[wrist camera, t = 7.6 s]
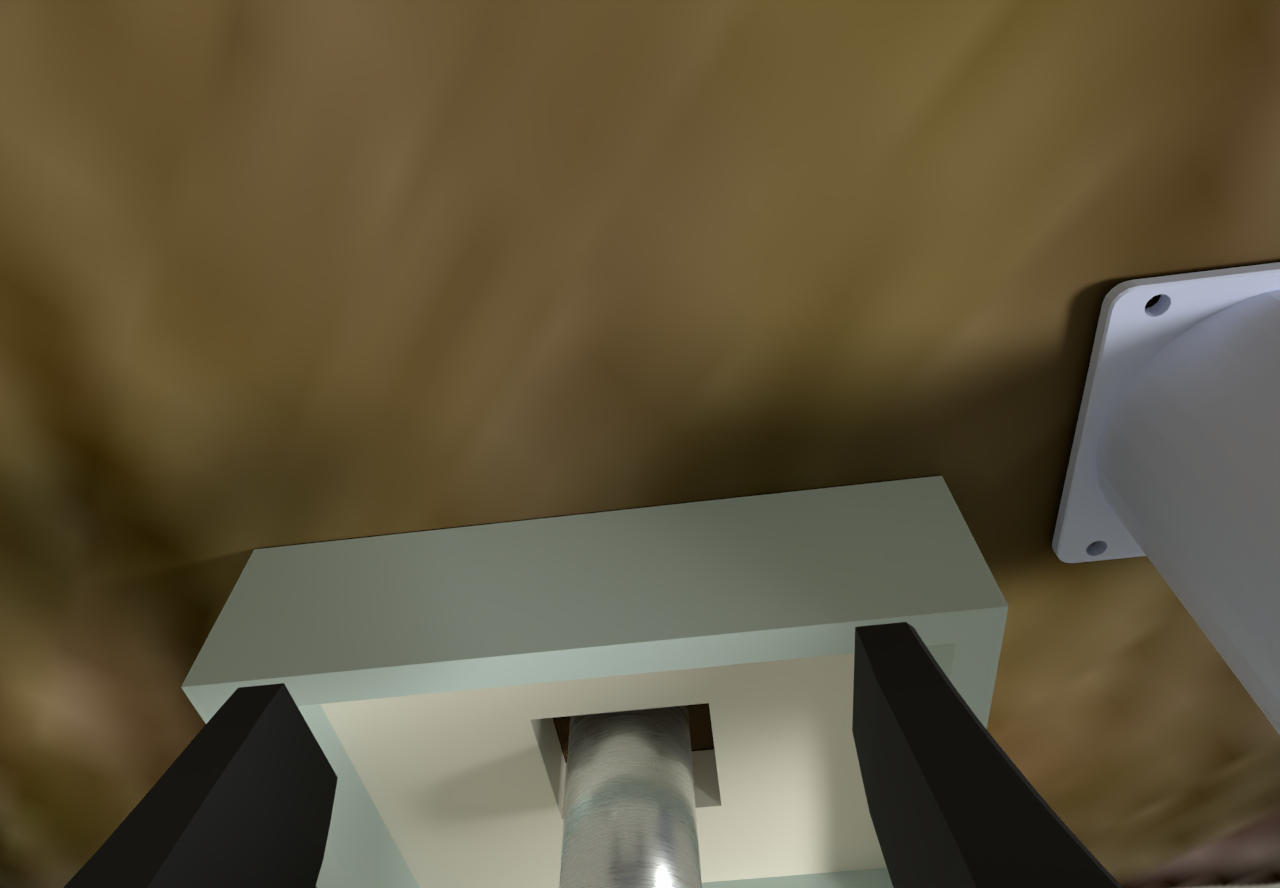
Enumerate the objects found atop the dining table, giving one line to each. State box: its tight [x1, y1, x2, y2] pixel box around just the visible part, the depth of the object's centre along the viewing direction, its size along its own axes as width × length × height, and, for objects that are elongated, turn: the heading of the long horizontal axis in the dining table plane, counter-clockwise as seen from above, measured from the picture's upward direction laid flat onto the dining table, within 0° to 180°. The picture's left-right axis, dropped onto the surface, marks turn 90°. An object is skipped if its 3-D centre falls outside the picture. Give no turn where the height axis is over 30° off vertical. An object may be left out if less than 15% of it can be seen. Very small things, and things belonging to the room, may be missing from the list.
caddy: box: [181, 476, 1008, 888], centre depth 24 cm, size 18×16×4 cm
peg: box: [559, 705, 702, 888], centre depth 23 cm, size 4×4×7 cm
